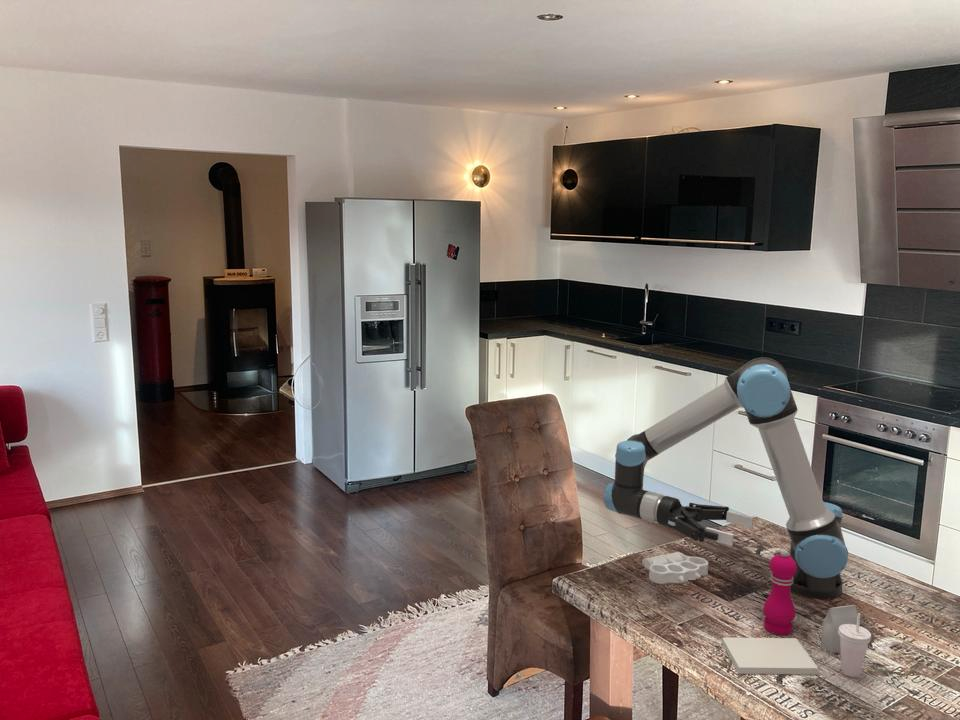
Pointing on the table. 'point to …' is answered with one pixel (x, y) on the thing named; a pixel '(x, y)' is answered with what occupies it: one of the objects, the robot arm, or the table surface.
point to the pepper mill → (780, 595)
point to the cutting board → (769, 656)
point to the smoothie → (853, 647)
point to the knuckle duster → (675, 568)
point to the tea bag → (836, 626)
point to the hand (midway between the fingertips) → (743, 531)
